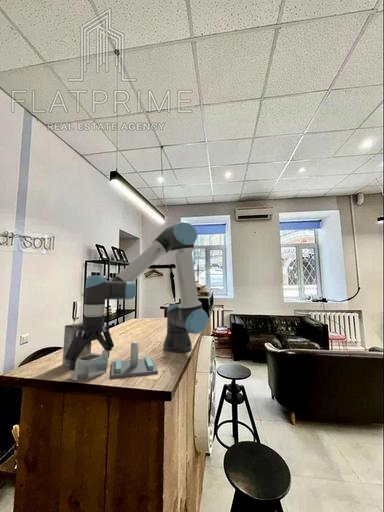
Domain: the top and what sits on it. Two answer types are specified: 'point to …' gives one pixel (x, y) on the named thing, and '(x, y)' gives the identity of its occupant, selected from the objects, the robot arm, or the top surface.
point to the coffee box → (69, 338)
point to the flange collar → (91, 365)
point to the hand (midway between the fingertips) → (90, 373)
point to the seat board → (132, 369)
